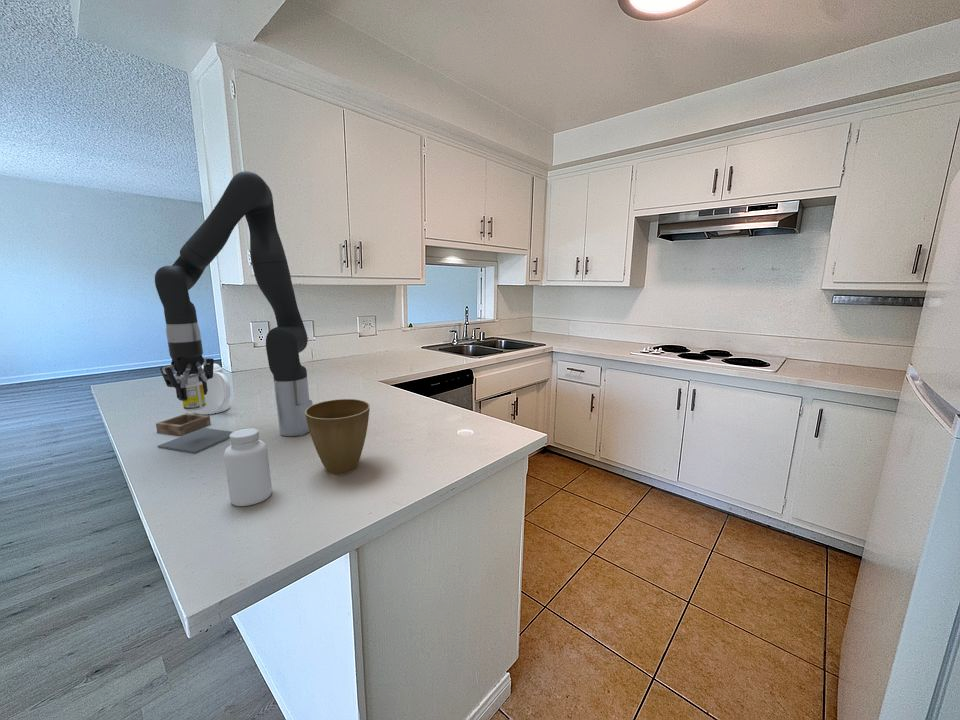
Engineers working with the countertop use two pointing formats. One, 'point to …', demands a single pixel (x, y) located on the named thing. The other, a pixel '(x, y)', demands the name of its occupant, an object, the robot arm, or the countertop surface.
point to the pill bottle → (247, 468)
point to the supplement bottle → (194, 394)
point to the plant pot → (338, 432)
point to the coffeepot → (216, 393)
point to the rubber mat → (197, 440)
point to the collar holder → (183, 424)
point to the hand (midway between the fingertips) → (193, 397)
